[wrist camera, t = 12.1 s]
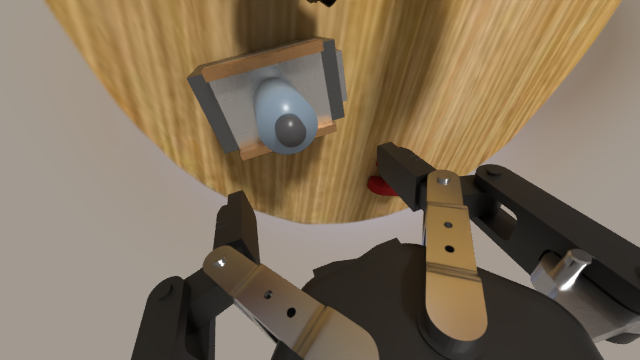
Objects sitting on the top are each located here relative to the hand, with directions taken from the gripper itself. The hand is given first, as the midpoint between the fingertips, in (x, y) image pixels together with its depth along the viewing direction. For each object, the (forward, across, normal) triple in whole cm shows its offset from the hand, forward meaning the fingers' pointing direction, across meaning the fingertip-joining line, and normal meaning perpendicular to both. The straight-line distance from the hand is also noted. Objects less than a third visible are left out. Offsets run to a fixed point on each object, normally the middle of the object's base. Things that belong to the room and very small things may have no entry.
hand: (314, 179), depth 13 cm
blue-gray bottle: (+16, 0, 0) cm, 16 cm away
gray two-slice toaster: (+28, 0, 0) cm, 28 cm away
